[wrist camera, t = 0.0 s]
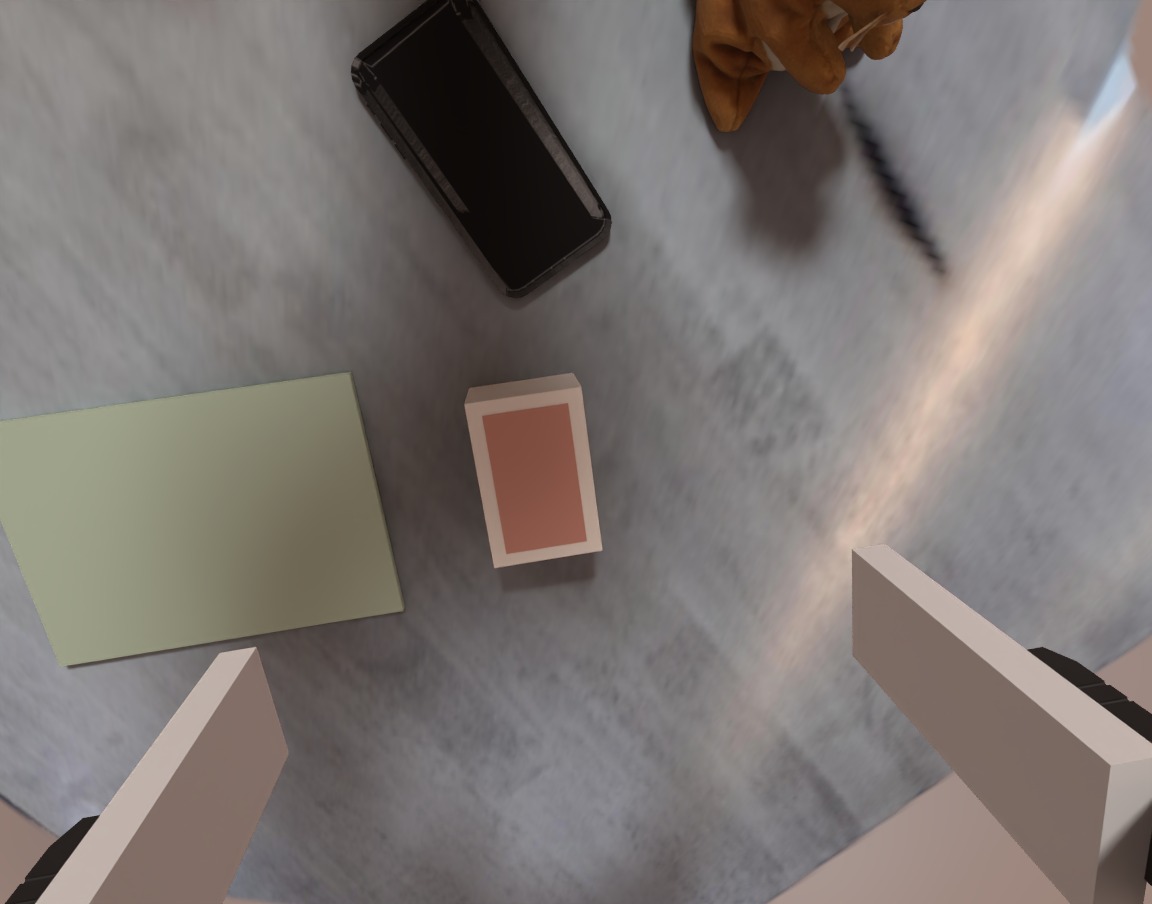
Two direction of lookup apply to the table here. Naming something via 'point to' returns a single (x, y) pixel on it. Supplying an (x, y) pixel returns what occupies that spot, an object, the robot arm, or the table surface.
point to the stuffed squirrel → (785, 45)
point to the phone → (481, 143)
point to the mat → (197, 517)
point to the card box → (534, 469)
